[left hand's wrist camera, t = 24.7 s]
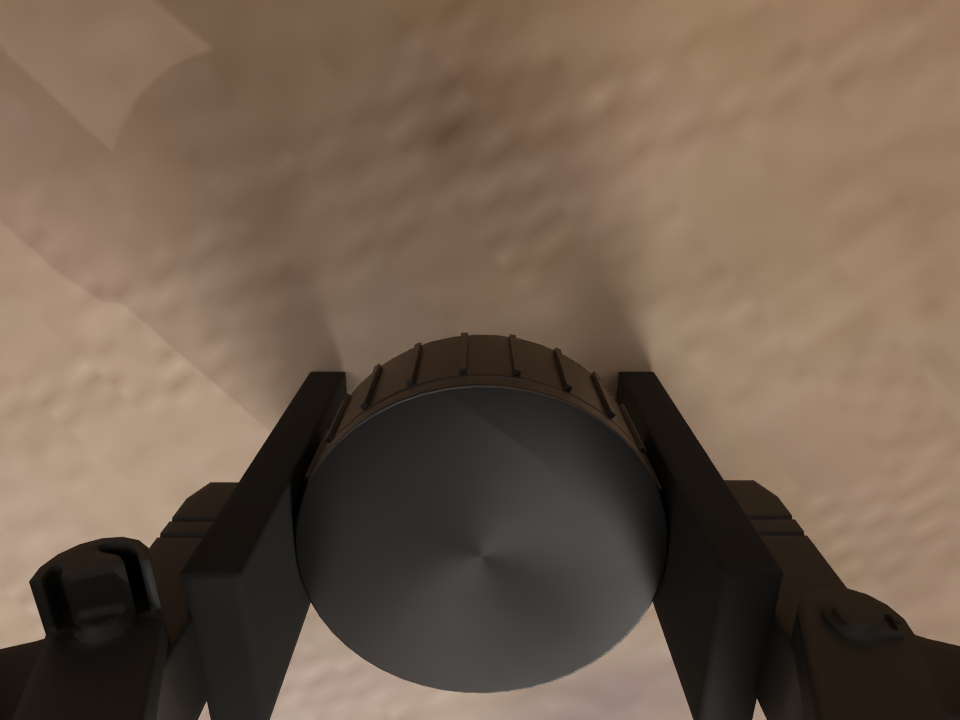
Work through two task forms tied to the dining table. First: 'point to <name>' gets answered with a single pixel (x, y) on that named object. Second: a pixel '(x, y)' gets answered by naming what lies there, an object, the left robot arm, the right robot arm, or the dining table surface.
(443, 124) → the dining table surface
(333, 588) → the lid
